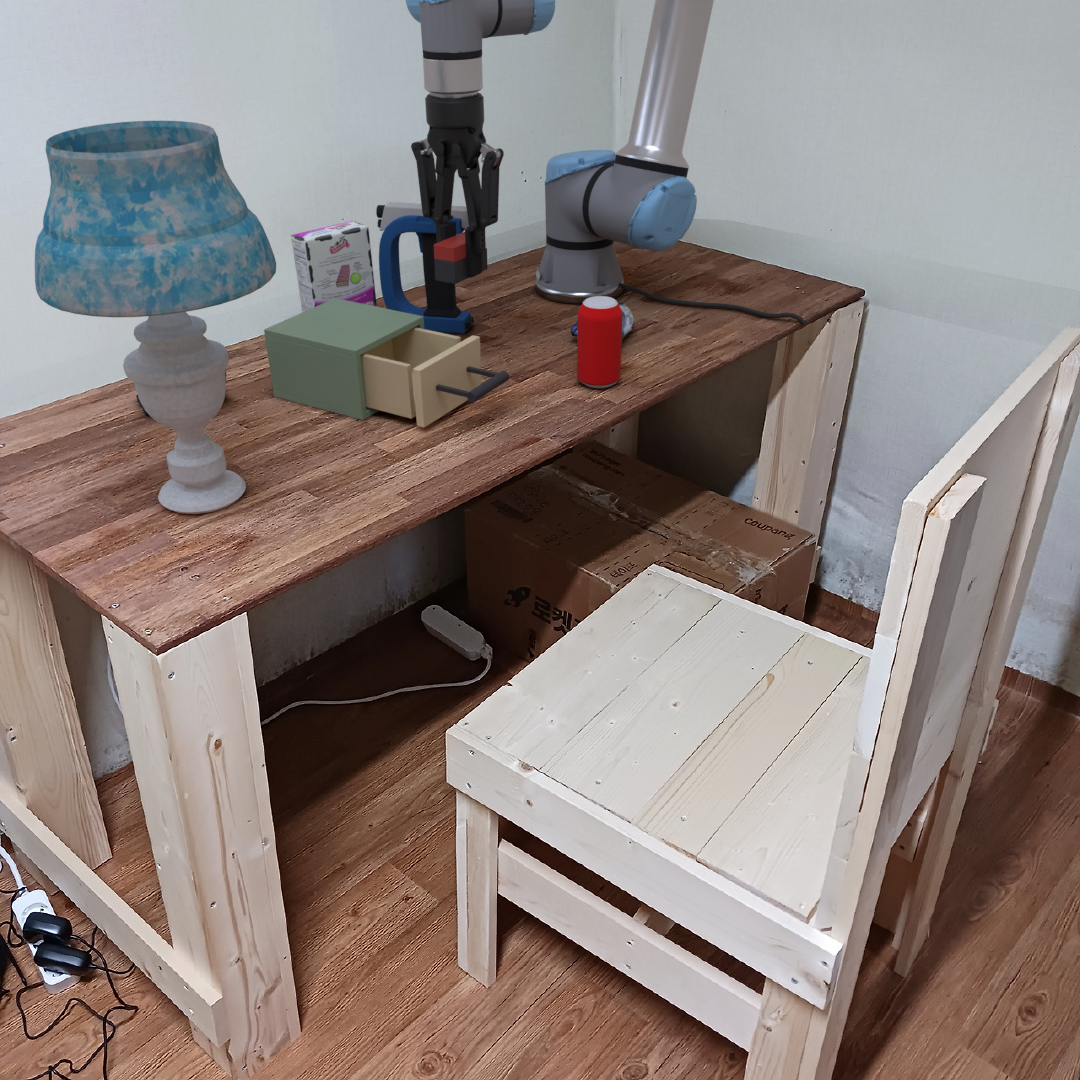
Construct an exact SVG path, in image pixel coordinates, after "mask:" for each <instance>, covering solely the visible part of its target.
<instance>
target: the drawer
mask: <svg viewBox="0 0 1080 1080" xmlns="http://www.w3.org/2000/svg"><path fill="white" fill-rule="evenodd" d="M461 339H462V337H461V336H458V335H453V334H450V333H444V332H435V331H431V330H426V329H421V328H416V327H414V328H412V329H410V330H408V331H406V332H404V333H402V334H400V335H398V336H396V337H394V338H393V339H391V340H389V341H387V342H385V343H383V344H381V345H379V346H377V347H375V348H373V349H371V350H369V351H367V352H365V353H363V354H361V355H360V356H361V365H362V375H363V385H364V395H365V405H366V407H369V408H372V409H376V410H380V411H379V412H385V413H389V414H393V415H395V416H399V417H403V418H407V419H410V420H411V419H414V418H415V419H416V420H415V421H416V426H417V427H421V428H426V427H428V426H429V425H431V424H433V423H434V422H435V421H438V420H439V419H440V418H441V417H444V416H445V415H446V414H448V413H450V412H451V411H453V410H455V409H456V408H457V407H458V406H461V405H462V404H464V403H465V402H467V401H468V402H470V403H475V402H477V401H478V400H479V399H481V398H482V397H484V396H486V395H487V394H489V393H490V392H492V391H494V390H495V389H497V388H498V387H499V386H501V385H503V384H504V383H506V382H507V381H509V380H510V374H509V372H507V371H506V370H501V371H499V372H496V371H491V370H487V369H484V368H483V369H482V355H481V337H480V336H478V335H474V334H473V335H471V336H469V337H467V338H465V339H462V340H461ZM482 376H484V377H489V379H486V380H485V381H483V379H482Z"/></svg>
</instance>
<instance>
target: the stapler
mask: <svg viewBox="0 0 1080 1080" xmlns="http://www.w3.org/2000/svg"><path fill="white" fill-rule="evenodd" d="M434 258H435V277H436V280H437V281H442V282H447V283H452V284H455V285H457V284H459V283H461V282H463V281H465V280H467V279H470V278H469V277H467V265H466V243H465V231H463V232H462V233H460V234H458V235H455V236H453V237H450V238H448V239H446V240H443V241H441V242H438V243H436V244H434ZM488 268H489V267H488V248H487V247H486V248H485V251H483V252H482V272H485V271H487V270H488Z"/></svg>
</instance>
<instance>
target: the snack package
mask: <svg viewBox="0 0 1080 1080" xmlns="http://www.w3.org/2000/svg"><path fill="white" fill-rule="evenodd" d="M601 296H603V295H601ZM618 304H619V305H620V307H621V309H622V340H624V338H625V337H626V336H627V335H628V334H629V333H630V332H631V331H632V330H633V328H632V326H633V324H634V320H635V319H634V316H633V313H632V310H630V308H629V307H628V306H626V304H625V303H624V302H622V301H621V302H618ZM570 334H571V337H576V338H577V336H578V319H577V320H576V322H575V323H574V324H573V325H572V326H571V327H570ZM572 342H575V340H572ZM622 344H623V342H622V343H621V345H622Z"/></svg>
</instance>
